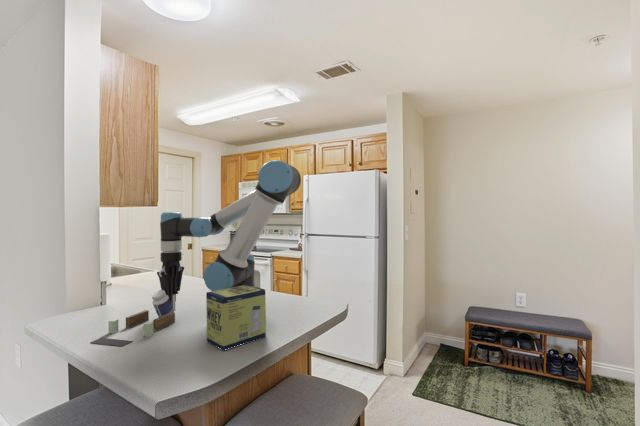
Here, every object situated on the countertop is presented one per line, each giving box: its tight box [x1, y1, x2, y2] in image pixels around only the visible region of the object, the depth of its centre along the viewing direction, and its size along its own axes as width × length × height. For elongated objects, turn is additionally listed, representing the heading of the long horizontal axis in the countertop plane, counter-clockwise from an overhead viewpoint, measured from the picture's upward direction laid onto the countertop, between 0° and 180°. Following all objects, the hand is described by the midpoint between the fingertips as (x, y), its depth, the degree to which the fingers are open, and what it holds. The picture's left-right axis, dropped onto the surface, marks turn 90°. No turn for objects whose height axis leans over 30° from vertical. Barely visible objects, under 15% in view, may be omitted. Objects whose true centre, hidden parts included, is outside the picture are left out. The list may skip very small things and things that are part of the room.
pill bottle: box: [151, 289, 175, 318], centre depth 123 cm, size 6×6×10 cm
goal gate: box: [108, 318, 154, 338], centre depth 108 cm, size 16×2×4 cm, turn 76°
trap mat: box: [89, 337, 133, 348], centre depth 101 cm, size 12×4×1 cm, turn 76°
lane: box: [125, 310, 176, 331], centre depth 117 cm, size 13×9×4 cm
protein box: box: [205, 285, 267, 351], centre depth 103 cm, size 10×16×16 cm
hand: (171, 311), depth 128 cm, fingers closed
